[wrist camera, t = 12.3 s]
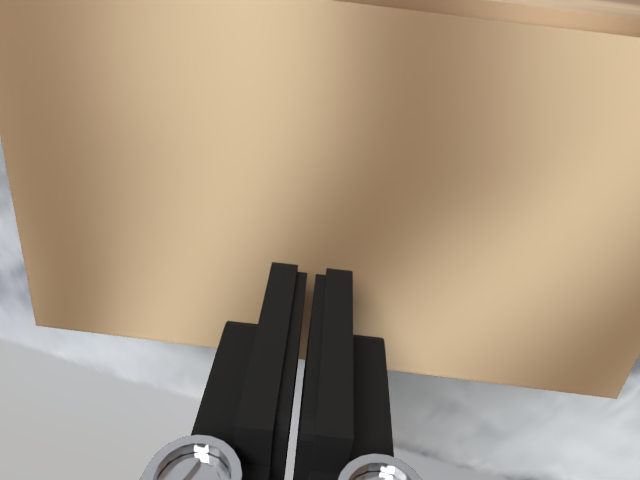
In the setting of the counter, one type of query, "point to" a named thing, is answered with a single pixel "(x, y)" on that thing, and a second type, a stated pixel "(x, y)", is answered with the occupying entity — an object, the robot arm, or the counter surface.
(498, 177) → the tan wooden cover
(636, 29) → the box
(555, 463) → the counter surface
